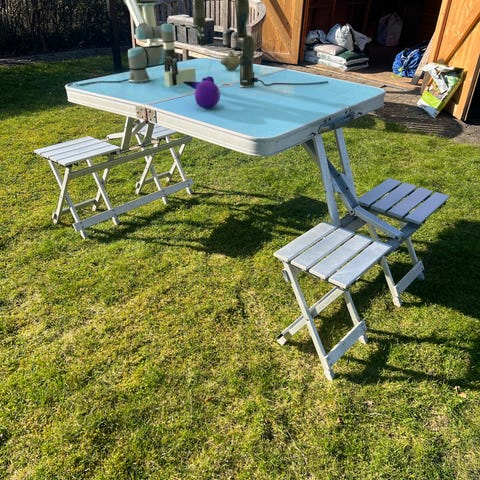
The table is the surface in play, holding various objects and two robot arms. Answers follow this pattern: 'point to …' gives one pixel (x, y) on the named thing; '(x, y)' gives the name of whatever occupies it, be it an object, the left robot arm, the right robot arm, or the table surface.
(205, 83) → the toy
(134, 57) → the left robot arm
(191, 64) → the table surface
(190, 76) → the bar
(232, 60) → the teapot
